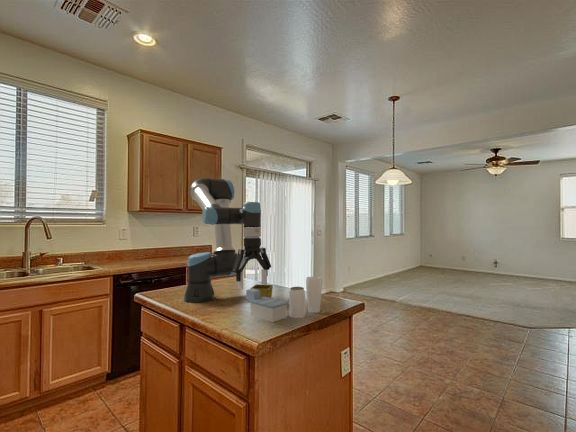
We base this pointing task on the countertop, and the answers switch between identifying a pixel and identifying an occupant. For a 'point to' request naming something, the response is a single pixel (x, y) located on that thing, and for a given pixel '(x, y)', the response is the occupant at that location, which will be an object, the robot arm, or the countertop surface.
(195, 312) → the countertop surface
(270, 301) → the lid
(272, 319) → the tub
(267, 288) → the flower pot
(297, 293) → the can
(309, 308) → the drinking glass
